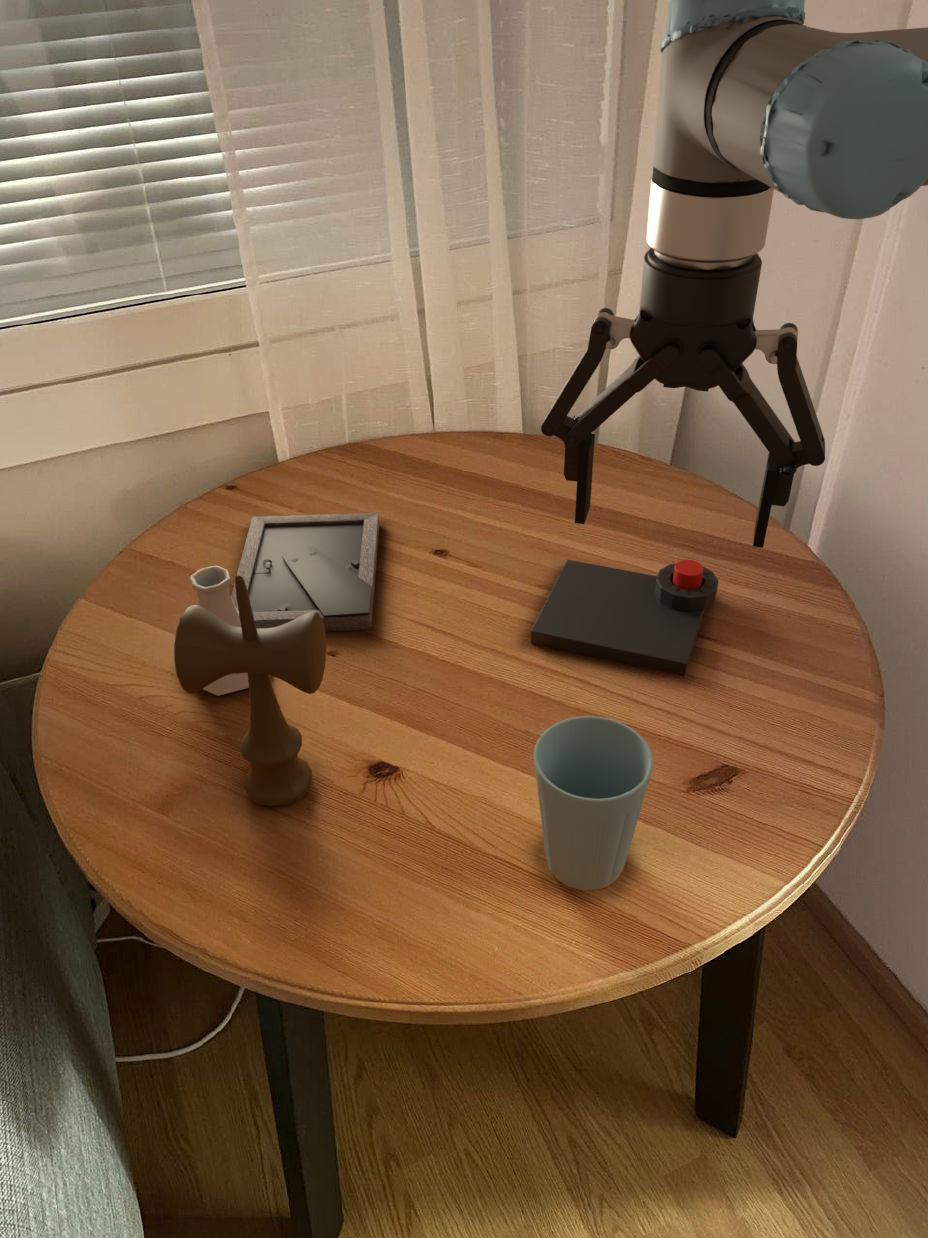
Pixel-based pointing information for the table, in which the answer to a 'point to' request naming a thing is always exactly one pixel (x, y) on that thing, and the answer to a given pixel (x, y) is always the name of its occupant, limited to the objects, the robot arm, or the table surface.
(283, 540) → the picture frame
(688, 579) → the button
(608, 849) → the cup
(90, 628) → the table surface
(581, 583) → the scale
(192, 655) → the kendama
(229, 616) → the flask
